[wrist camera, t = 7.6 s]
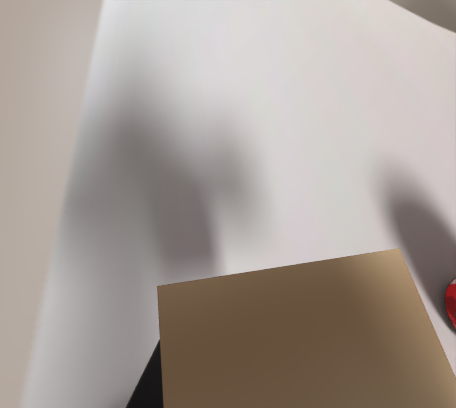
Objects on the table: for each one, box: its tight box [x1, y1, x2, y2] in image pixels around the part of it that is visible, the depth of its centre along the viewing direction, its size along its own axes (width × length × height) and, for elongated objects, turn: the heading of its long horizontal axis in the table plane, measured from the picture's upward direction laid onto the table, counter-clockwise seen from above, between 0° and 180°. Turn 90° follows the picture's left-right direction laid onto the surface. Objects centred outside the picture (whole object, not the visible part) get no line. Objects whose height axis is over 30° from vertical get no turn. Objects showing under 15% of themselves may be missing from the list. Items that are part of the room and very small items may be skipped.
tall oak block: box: [157, 248, 456, 408], centre depth 9 cm, size 4×4×12 cm
